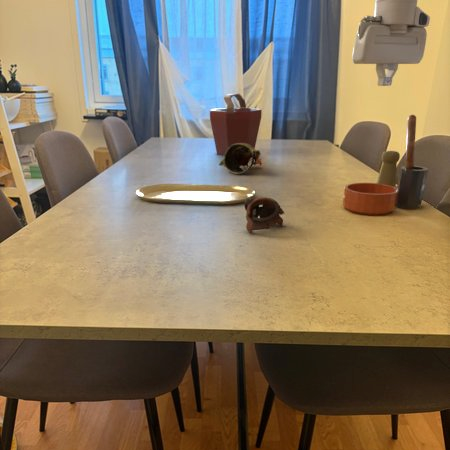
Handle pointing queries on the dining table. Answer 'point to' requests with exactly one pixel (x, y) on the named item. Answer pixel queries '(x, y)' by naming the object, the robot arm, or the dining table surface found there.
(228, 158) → the pot
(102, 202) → the dining table surface
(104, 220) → the dining table surface
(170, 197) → the serving platter
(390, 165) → the pepper mill
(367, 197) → the bowl
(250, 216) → the dark brown hollow piece
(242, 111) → the bucket
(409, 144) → the stirring stick
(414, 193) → the utensil pot
